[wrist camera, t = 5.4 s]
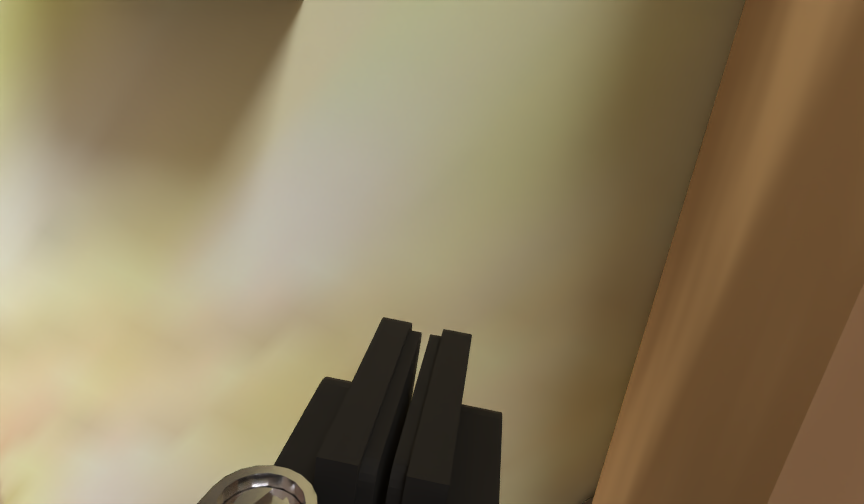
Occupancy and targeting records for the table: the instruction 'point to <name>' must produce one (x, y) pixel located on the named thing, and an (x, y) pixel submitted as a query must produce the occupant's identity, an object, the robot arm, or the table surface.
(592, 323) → the table surface
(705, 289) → the door
